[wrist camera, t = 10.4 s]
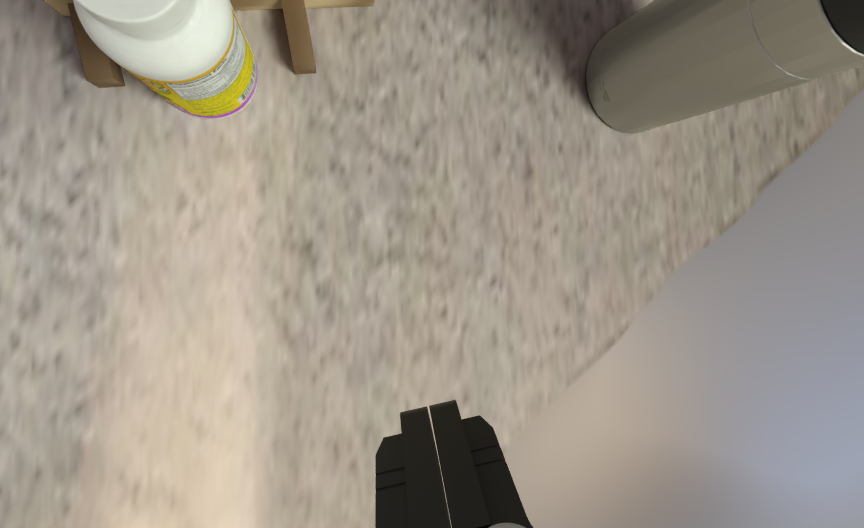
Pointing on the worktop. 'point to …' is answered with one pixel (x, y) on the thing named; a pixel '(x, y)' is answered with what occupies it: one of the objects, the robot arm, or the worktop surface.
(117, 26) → the supplement bottle
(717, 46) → the robot arm
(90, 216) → the worktop surface
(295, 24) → the wall board
